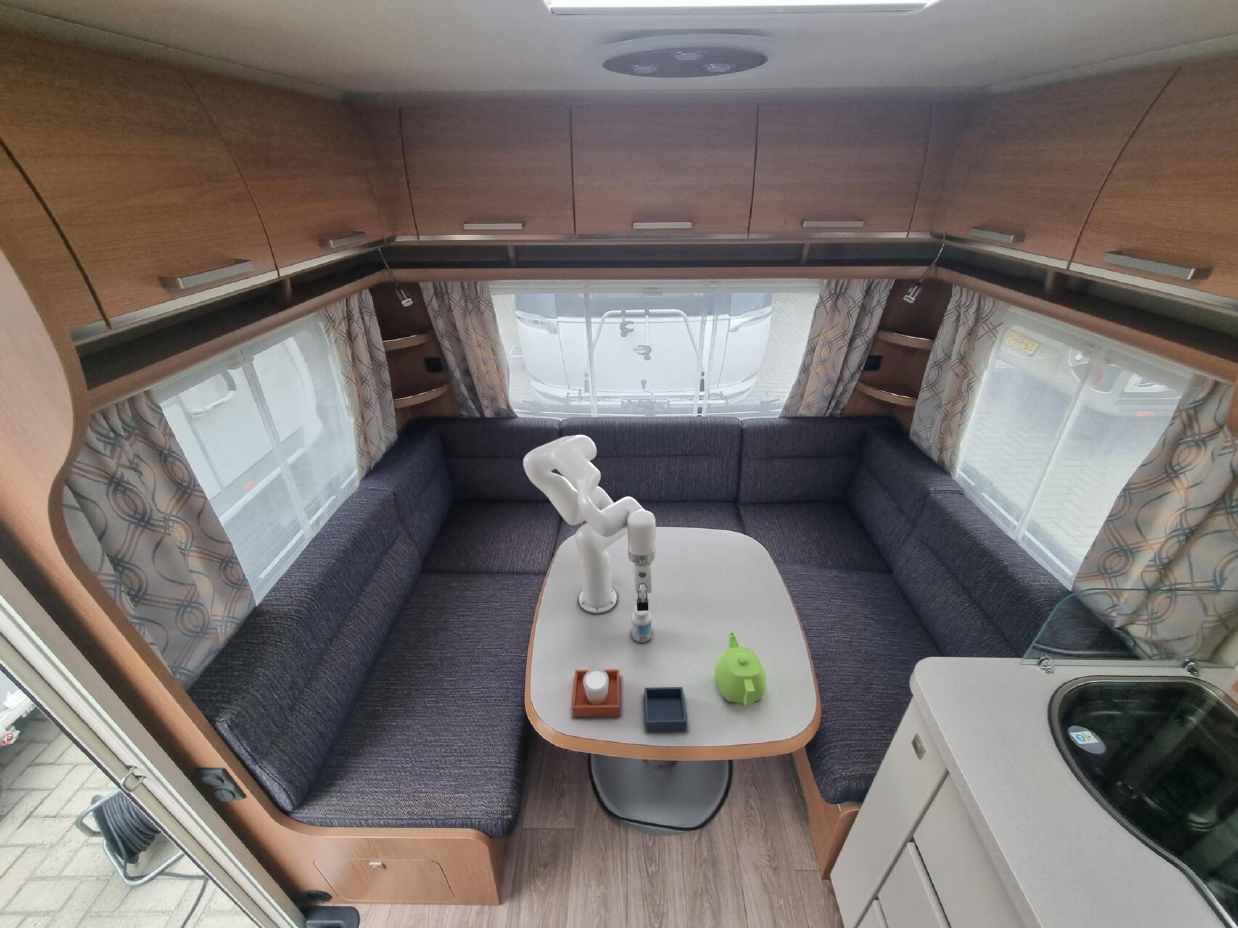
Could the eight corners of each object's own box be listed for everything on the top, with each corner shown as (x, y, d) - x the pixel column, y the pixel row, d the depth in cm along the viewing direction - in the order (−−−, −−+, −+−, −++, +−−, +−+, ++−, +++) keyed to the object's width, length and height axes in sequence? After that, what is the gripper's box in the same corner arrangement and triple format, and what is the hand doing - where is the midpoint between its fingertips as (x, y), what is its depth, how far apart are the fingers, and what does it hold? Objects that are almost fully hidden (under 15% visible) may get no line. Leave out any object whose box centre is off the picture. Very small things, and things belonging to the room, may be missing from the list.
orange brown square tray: (576, 678, 138) (575, 669, 136) (619, 678, 138) (619, 669, 136) (573, 716, 128) (572, 707, 126) (619, 716, 128) (619, 706, 126)
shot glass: (606, 709, 129) (605, 693, 126) (581, 705, 131) (579, 688, 127) (612, 686, 135) (611, 670, 131) (588, 682, 136) (586, 666, 133)
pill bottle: (653, 629, 152) (654, 604, 146) (648, 645, 147) (648, 619, 141) (635, 625, 154) (634, 599, 148) (629, 640, 149) (628, 614, 143)
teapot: (706, 656, 143) (710, 627, 137) (752, 654, 144) (757, 624, 137) (722, 722, 126) (726, 692, 120) (773, 719, 126) (780, 689, 120)
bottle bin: (644, 696, 133) (644, 687, 131) (681, 695, 133) (682, 686, 131) (646, 731, 124) (646, 722, 122) (686, 730, 124) (686, 721, 122)
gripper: (657, 573, 126) (656, 620, 134) (653, 531, 141) (653, 576, 149) (628, 574, 126) (629, 620, 134) (627, 532, 141) (628, 576, 149)
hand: (641, 597), depth 142 cm, fingers open, 9 cm apart
